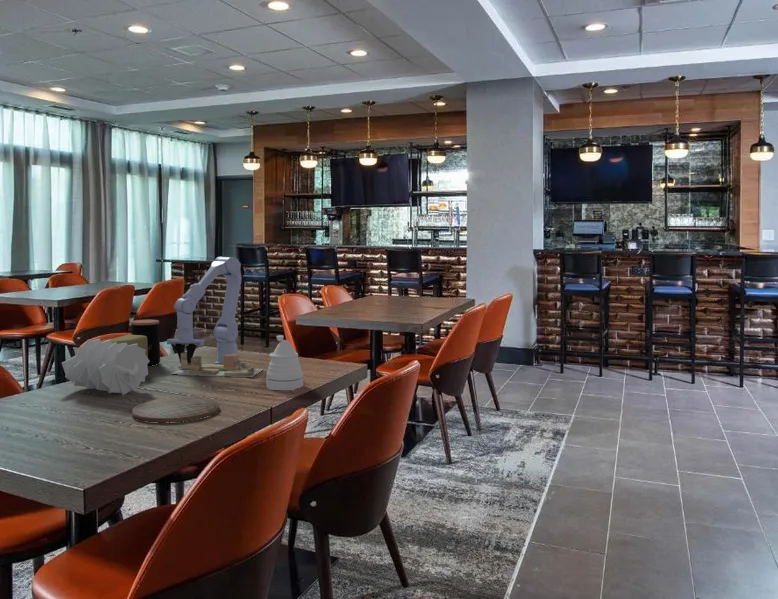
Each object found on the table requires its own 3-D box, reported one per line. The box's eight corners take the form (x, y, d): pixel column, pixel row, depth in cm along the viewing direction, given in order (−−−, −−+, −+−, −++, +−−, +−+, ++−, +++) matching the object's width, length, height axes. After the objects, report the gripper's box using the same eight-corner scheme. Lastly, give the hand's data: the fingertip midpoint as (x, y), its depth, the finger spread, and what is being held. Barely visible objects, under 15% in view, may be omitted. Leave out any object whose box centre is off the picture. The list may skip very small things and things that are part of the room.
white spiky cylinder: (95, 396, 232) (146, 401, 221) (52, 383, 217) (105, 388, 206) (110, 346, 238) (161, 349, 226) (70, 331, 223) (122, 333, 212)
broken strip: (194, 371, 254) (194, 355, 253) (254, 373, 251) (254, 357, 250) (188, 373, 249) (188, 358, 248) (250, 376, 246) (249, 360, 245)
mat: (186, 367, 263) (186, 366, 263) (263, 370, 259) (263, 368, 259) (170, 374, 249) (170, 373, 249) (252, 377, 245) (252, 376, 245)
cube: (227, 365, 259) (227, 353, 259) (238, 365, 259) (238, 354, 258) (223, 367, 255) (223, 355, 254) (234, 367, 254) (234, 356, 254)
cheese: (109, 385, 231) (108, 343, 229) (86, 383, 233) (85, 342, 232) (149, 373, 252) (148, 334, 250) (127, 371, 255) (126, 333, 253)
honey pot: (258, 388, 229) (258, 337, 227) (281, 381, 240) (280, 332, 238) (288, 392, 223) (288, 340, 221) (310, 385, 234) (310, 335, 232)
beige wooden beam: (184, 365, 262) (183, 351, 261) (241, 367, 259) (241, 352, 258) (178, 368, 257) (178, 353, 256) (237, 370, 254) (237, 355, 254)
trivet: (118, 412, 198) (118, 406, 198) (194, 398, 215) (194, 392, 215) (155, 430, 180) (155, 423, 180) (235, 413, 198) (234, 407, 197)
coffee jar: (126, 366, 264) (125, 322, 262) (143, 361, 274) (142, 319, 272) (149, 368, 260) (147, 323, 259) (165, 363, 271) (164, 320, 269)
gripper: (163, 329, 255) (163, 364, 256) (198, 330, 253) (199, 365, 254) (171, 327, 262) (171, 360, 263) (206, 328, 260) (206, 361, 261)
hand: (185, 362), depth 259 cm, fingers closed on beige wooden beam, 2 cm apart
